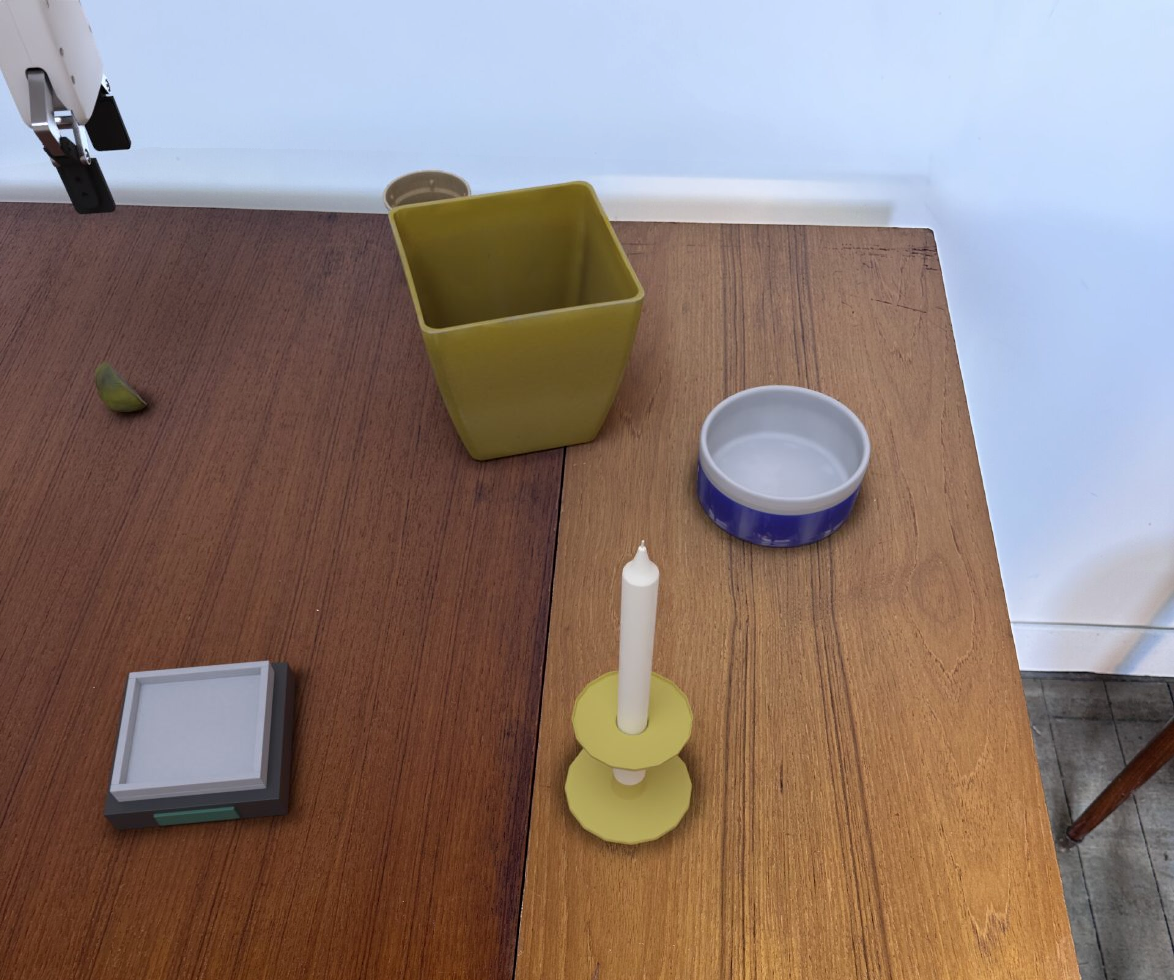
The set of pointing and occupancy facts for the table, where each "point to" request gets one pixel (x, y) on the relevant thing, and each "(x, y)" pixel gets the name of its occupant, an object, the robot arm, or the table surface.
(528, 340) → the flower pot
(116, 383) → the lime
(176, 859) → the table surface
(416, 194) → the flower pot
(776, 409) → the dog bowl
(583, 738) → the candle
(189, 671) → the scale
